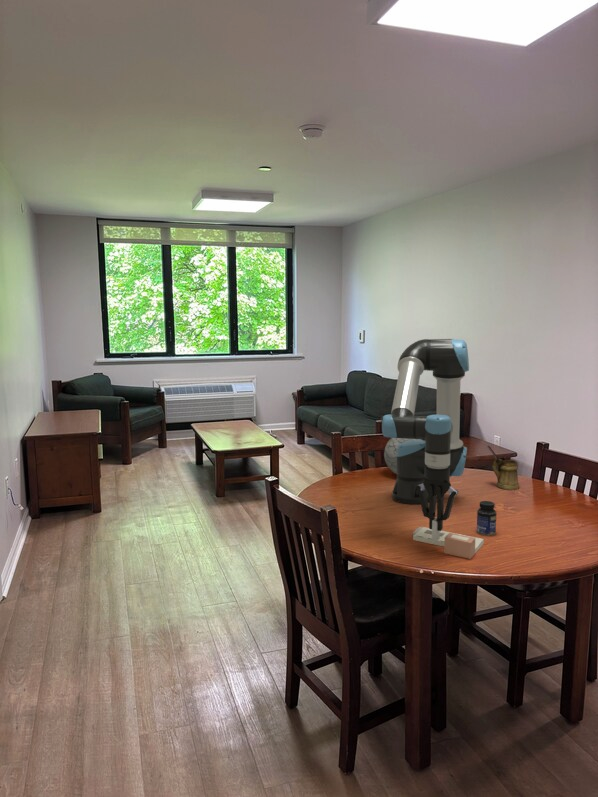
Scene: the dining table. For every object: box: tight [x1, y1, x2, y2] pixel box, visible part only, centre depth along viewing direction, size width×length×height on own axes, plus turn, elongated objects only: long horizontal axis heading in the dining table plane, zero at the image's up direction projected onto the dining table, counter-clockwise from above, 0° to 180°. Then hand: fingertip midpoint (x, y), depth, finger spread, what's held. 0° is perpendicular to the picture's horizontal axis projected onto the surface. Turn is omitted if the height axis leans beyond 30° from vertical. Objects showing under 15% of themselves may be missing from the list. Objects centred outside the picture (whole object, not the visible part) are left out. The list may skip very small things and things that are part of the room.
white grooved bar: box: [412, 526, 485, 554], centre depth 181 cm, size 20×9×2 cm, turn 57°
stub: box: [443, 532, 476, 560], centre depth 172 cm, size 8×4×5 cm, turn 57°
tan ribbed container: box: [487, 445, 520, 491], centre depth 240 cm, size 9×14×18 cm, turn 81°
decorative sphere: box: [383, 438, 423, 475], centre depth 259 cm, size 20×20×20 cm
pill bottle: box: [476, 500, 497, 537], centre depth 188 cm, size 6×6×11 cm
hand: (435, 539), depth 176 cm, fingers closed
